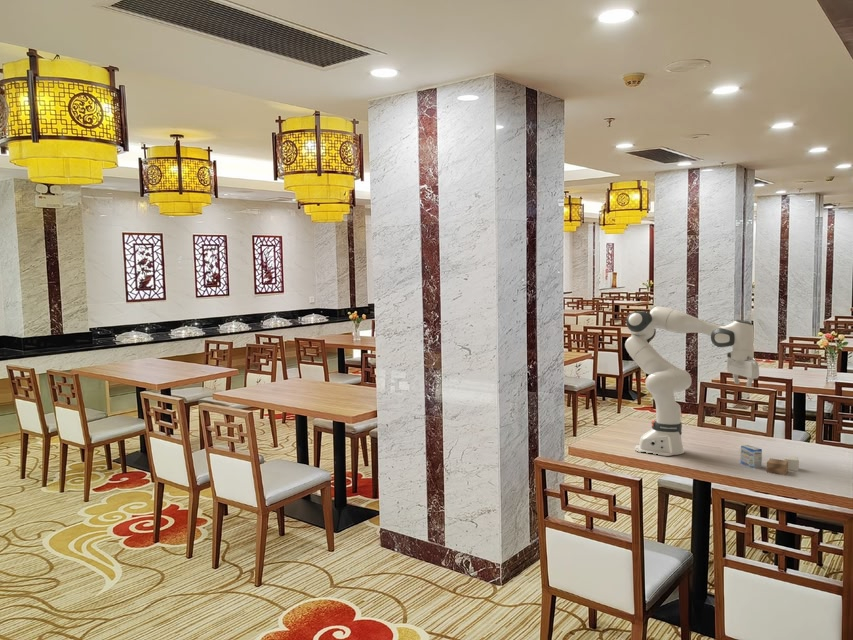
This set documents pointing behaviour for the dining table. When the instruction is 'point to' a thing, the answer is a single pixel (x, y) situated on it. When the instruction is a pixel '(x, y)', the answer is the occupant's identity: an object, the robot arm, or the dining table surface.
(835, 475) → the dining table surface
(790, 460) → the cream block
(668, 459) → the dining table surface
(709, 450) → the dining table surface
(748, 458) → the medicine box
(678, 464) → the dining table surface
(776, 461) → the walnut block
